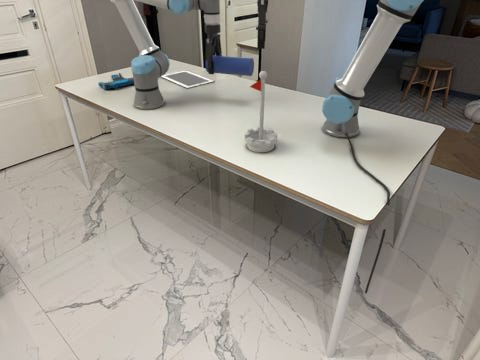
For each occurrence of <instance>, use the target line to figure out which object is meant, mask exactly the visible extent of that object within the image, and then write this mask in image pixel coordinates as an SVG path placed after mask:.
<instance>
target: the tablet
mask: <svg viewBox="0 0 480 360" xmlns="http://www.w3.org/2000/svg"><path fill="white" fill-rule="evenodd" d="M160 78H162V79H165V80H167V81H169V82H171V83H174V84H176V85H178V86H181V87H183V88H185V89H191V88H195V87H198V86H203V85H207V84H211V83H214V82H215V80H213V79H210V78H207V77H204V76H202V75H199V74H197V73H194V72H192V71H188V70H181V71H175V72H171V73H167V74H164V75H163V76H161V77H160Z"/></svg>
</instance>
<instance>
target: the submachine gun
mask: <svg viewBox="0 0 480 360" xmlns="http://www.w3.org/2000/svg"><path fill="white" fill-rule="evenodd" d="M110 77H111V79H112V80H111V81H108V82H102V81H100V82H98V83H97V84H98V86H99V87H100V88H102V89H103V90H110V89H116V90H117V89H118V88H120V87H123V86H128V85H134V84H133V83H134V79H133V77H129V78H126V77H123V78H124V79H123V78H121V77H120V76H119V74H112V75H110Z"/></svg>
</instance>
